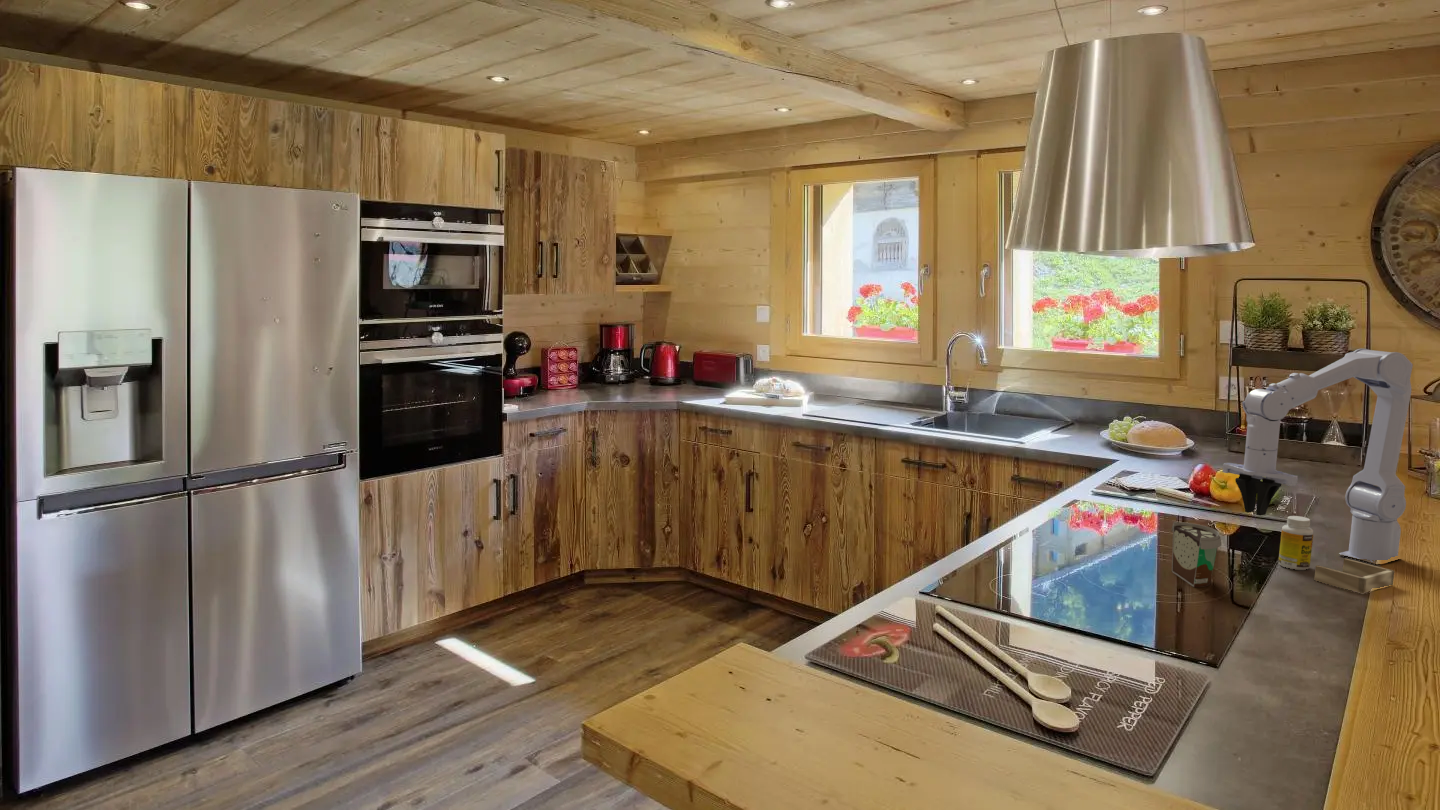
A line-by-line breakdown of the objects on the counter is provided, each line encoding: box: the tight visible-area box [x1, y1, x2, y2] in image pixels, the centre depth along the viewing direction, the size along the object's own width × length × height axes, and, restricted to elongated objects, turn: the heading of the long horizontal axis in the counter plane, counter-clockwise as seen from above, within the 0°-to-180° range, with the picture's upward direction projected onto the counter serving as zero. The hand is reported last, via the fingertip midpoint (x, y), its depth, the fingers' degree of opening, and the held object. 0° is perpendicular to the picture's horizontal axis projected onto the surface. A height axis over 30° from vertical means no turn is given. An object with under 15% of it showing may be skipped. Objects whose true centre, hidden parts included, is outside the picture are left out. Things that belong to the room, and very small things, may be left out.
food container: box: [1171, 521, 1222, 588], centre depth 184 cm, size 12×6×10 cm, turn 179°
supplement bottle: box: [1278, 515, 1314, 571], centre depth 193 cm, size 6×6×10 cm
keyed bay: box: [1313, 557, 1395, 593], centre depth 183 cm, size 11×9×3 cm
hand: (1255, 513), depth 195 cm, fingers closed
